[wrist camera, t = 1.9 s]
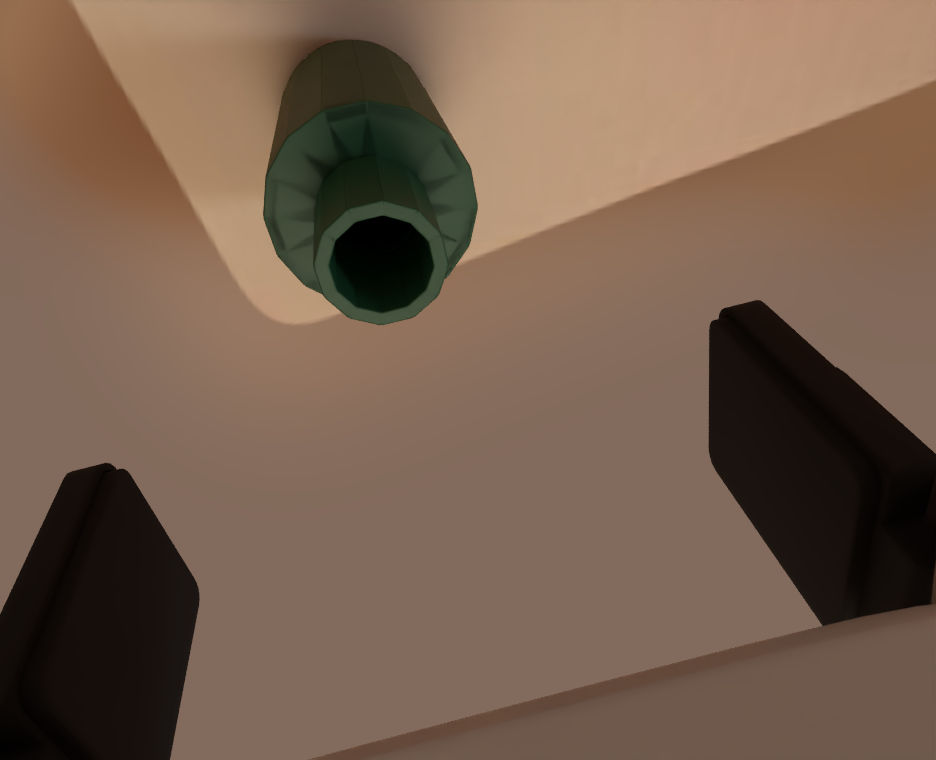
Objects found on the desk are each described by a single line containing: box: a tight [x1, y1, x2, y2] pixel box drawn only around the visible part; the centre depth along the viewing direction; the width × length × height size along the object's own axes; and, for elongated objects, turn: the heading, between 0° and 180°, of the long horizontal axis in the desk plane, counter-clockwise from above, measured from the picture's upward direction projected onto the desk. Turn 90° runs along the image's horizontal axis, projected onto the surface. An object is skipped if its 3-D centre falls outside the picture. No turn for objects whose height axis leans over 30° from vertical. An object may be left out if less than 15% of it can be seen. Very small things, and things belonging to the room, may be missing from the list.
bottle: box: [263, 40, 478, 325], centre depth 25 cm, size 6×6×16 cm
